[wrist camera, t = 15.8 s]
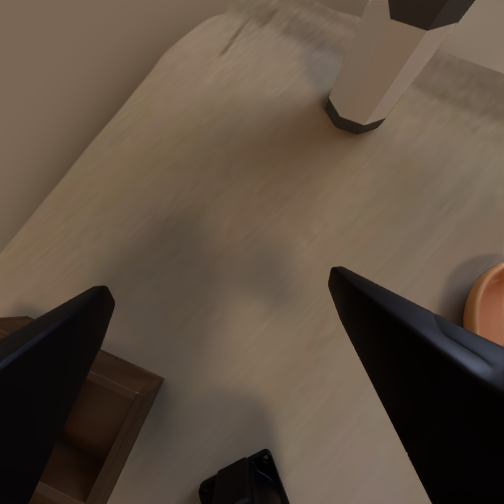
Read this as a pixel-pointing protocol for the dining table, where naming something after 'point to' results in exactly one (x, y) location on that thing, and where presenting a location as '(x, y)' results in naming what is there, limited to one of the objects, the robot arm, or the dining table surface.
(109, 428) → the organiser
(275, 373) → the dining table surface
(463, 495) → the robot arm
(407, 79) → the wine bottle
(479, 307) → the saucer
